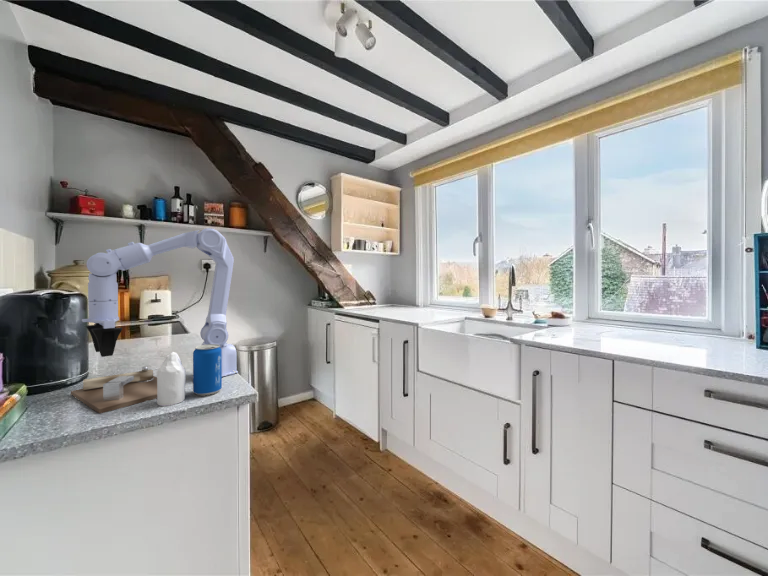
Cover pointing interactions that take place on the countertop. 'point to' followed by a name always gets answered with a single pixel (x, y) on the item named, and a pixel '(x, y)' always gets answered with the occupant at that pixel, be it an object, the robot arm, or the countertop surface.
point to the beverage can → (207, 369)
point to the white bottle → (171, 381)
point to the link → (102, 380)
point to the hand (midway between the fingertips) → (104, 353)
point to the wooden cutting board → (131, 396)
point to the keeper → (118, 386)
